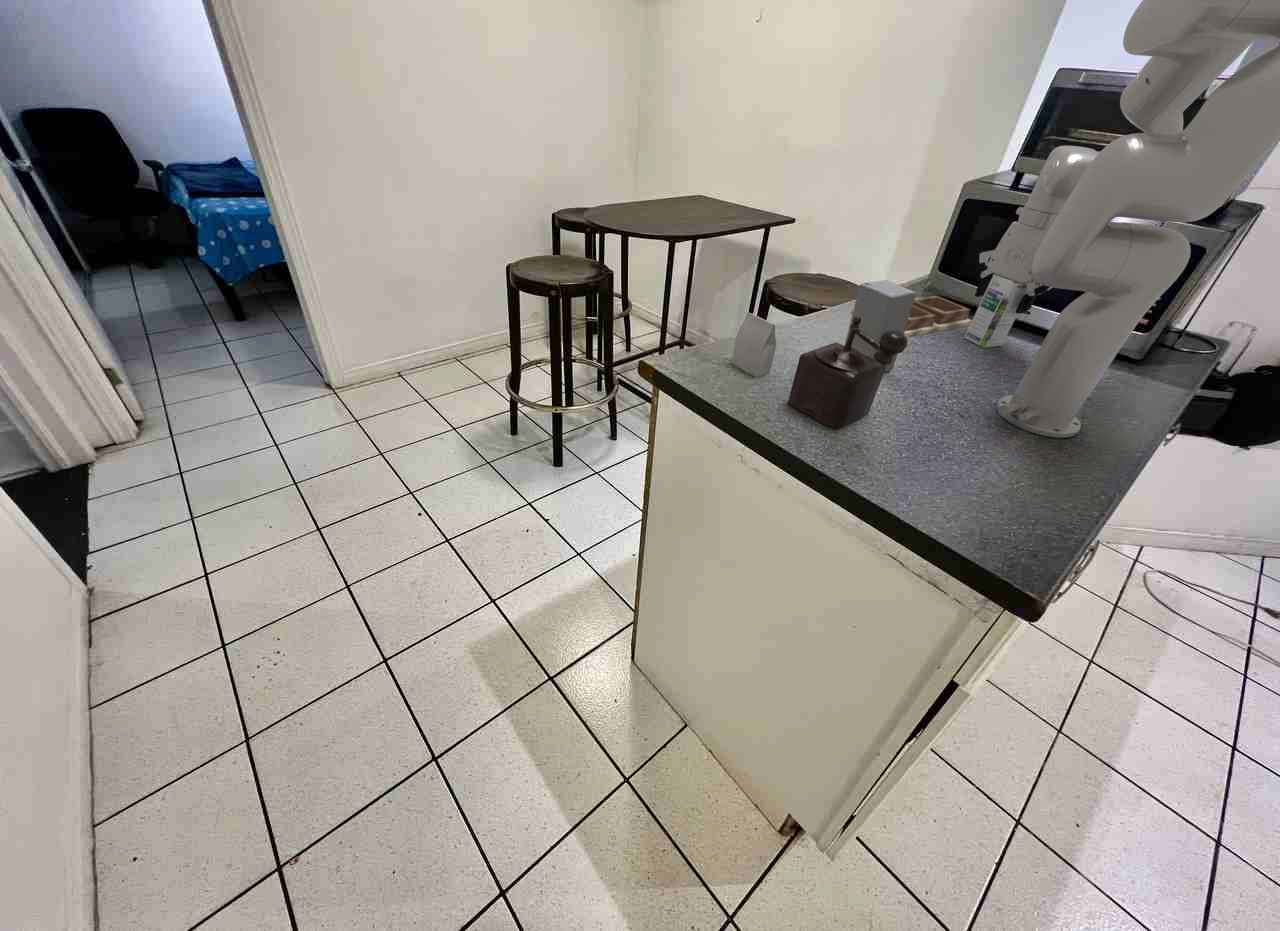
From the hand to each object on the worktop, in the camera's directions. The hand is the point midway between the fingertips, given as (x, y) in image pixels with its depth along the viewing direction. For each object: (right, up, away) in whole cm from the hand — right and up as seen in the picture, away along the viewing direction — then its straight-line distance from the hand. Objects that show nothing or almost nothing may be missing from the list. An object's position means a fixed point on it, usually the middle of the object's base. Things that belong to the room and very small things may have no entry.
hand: (999, 303), depth 114 cm
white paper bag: (-57, -16, -12) cm, 61 cm away
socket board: (-12, +1, +14) cm, 19 cm away
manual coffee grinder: (-44, -27, -25) cm, 57 cm away
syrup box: (-1, -7, +5) cm, 9 cm away
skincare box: (-33, -15, -8) cm, 37 cm away
